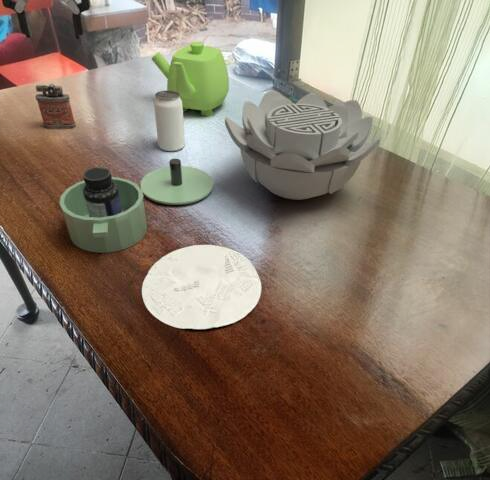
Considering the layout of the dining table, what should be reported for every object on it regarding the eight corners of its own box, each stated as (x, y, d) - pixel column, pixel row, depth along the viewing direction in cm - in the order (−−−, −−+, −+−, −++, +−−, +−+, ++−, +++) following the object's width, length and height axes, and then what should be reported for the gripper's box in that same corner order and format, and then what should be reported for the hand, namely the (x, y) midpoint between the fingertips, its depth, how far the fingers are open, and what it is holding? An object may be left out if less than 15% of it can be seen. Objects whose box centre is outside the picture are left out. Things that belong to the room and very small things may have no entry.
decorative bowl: (320, 145, 115) (331, 81, 104) (388, 205, 96) (409, 135, 85) (208, 163, 106) (206, 96, 95) (259, 233, 88) (264, 160, 77)
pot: (64, 265, 79) (53, 231, 74) (74, 203, 93) (65, 172, 88) (148, 258, 81) (143, 225, 76) (146, 199, 95) (142, 168, 90)
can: (175, 154, 109) (170, 102, 100) (153, 147, 111) (147, 96, 102) (190, 144, 113) (187, 93, 104) (168, 138, 115) (164, 87, 106)
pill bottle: (116, 214, 90) (106, 161, 82) (130, 229, 87) (121, 175, 78) (87, 224, 87) (73, 170, 79) (100, 240, 84) (87, 185, 76)
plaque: (209, 236, 86) (208, 229, 85) (285, 291, 77) (286, 284, 76) (119, 286, 77) (117, 279, 76) (193, 355, 68) (192, 348, 66)
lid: (141, 209, 92) (137, 182, 88) (140, 172, 103) (136, 145, 98) (217, 204, 94) (217, 177, 90) (208, 168, 105) (208, 142, 100)
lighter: (77, 123, 119) (67, 82, 111) (74, 129, 116) (64, 87, 109) (45, 123, 118) (34, 82, 111) (42, 129, 116) (30, 87, 109)
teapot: (171, 86, 139) (166, 26, 127) (238, 97, 135) (239, 35, 123) (133, 117, 123) (123, 51, 111) (207, 130, 118) (205, 63, 107)
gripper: (-24, -84, 68) (8, 41, 79) (75, -78, 70) (93, 43, 81) (-13, -86, 73) (16, 32, 84) (78, -80, 76) (95, 34, 87)
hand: (54, 37), depth 83 cm, fingers open, 8 cm apart
